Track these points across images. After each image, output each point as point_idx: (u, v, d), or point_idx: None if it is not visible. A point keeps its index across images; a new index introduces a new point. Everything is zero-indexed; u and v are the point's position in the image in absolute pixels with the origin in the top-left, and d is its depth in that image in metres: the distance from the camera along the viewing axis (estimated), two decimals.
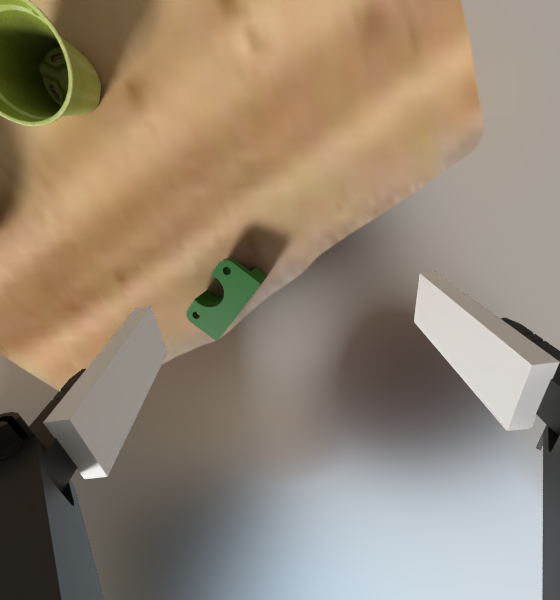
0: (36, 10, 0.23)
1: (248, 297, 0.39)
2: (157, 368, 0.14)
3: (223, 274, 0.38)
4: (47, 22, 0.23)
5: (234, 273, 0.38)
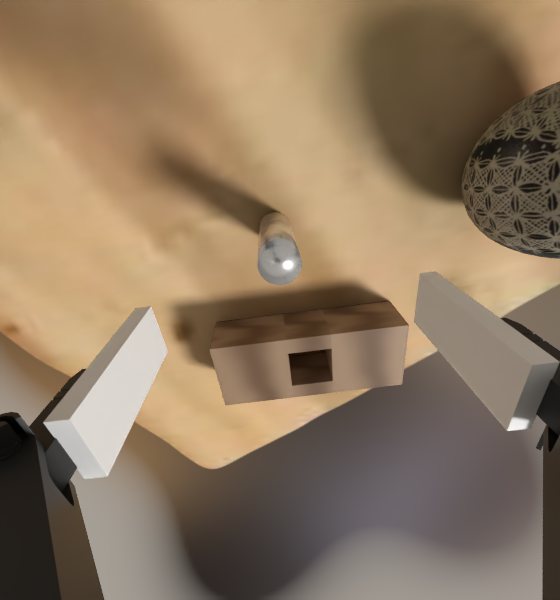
0: None
1: None
2: (157, 368, 0.14)
3: None
4: None
5: None
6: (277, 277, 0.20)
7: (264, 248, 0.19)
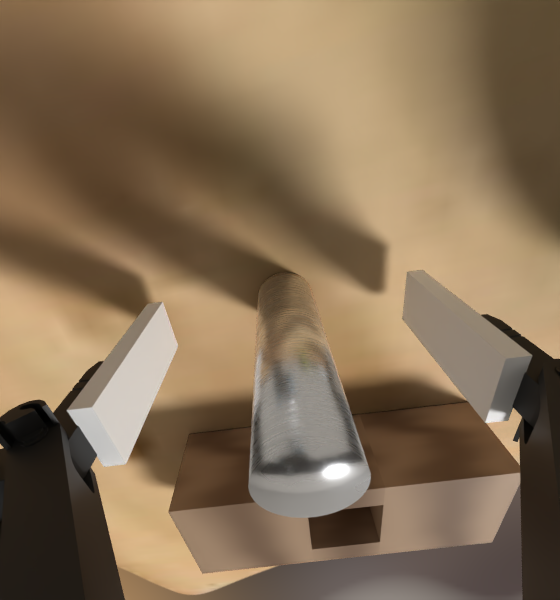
0: None
1: None
2: (169, 362, 0.14)
3: None
4: None
5: None
6: (302, 506, 0.08)
7: (267, 450, 0.07)
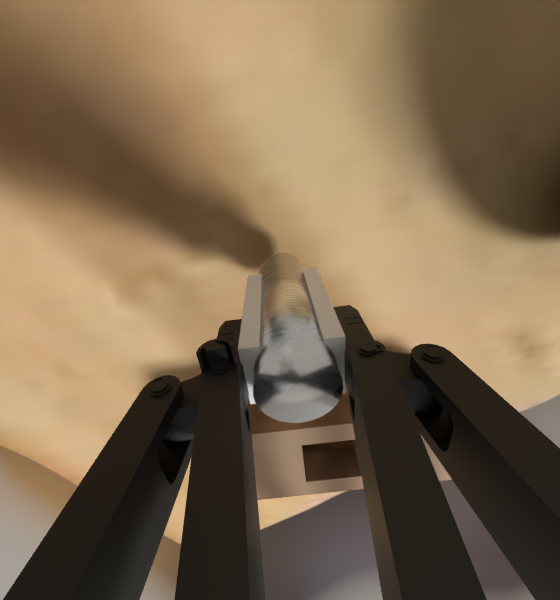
0: None
1: None
2: None
3: None
4: None
5: None
6: (293, 411, 0.10)
7: (266, 362, 0.09)
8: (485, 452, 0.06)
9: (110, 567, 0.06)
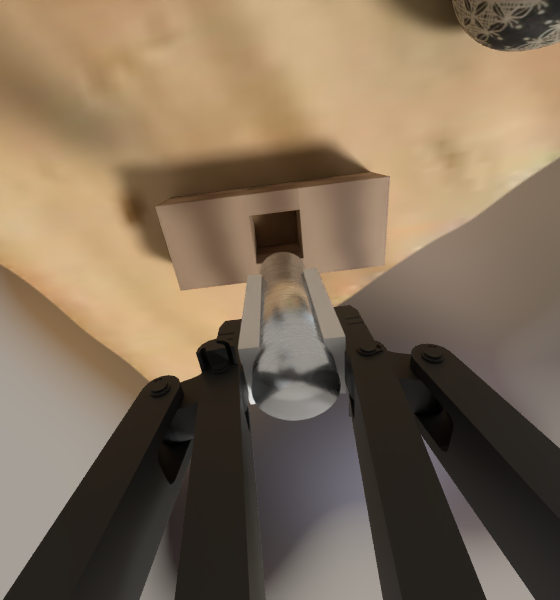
0: None
1: None
2: None
3: None
4: None
5: None
6: (291, 409, 0.10)
7: (265, 360, 0.09)
8: (485, 452, 0.06)
9: (110, 567, 0.06)
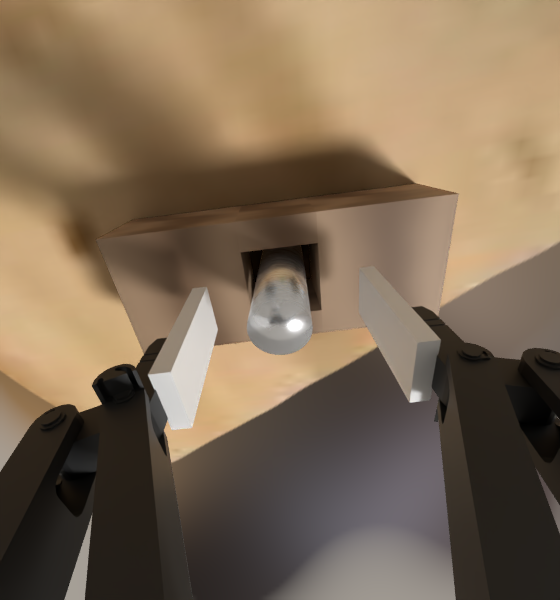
0: None
1: None
2: (213, 343, 0.15)
3: None
4: None
5: None
6: (276, 345, 0.14)
7: (257, 305, 0.13)
8: None
9: None
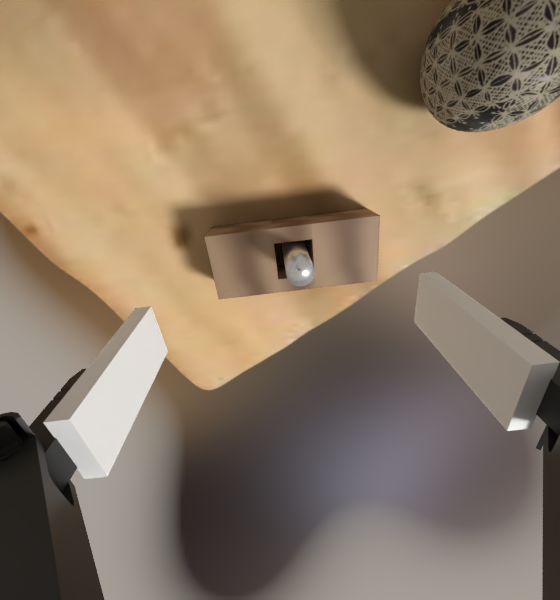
0: None
1: None
2: (157, 368, 0.14)
3: None
4: None
5: None
6: (298, 281, 0.30)
7: (291, 262, 0.30)
8: None
9: None
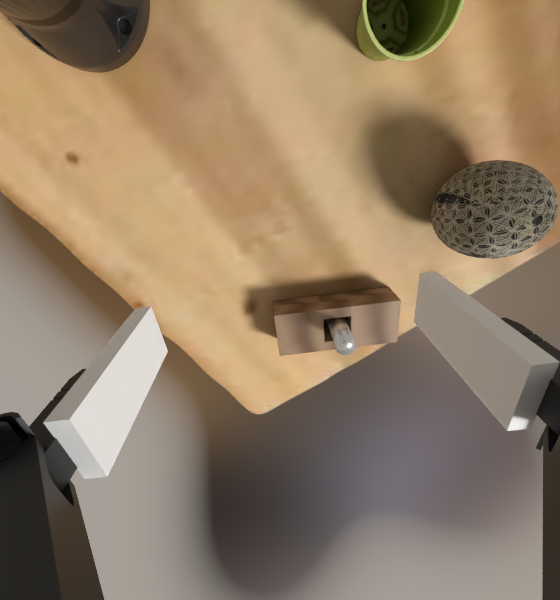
0: None
1: None
2: (157, 368, 0.14)
3: None
4: None
5: None
6: (344, 352, 0.43)
7: (340, 340, 0.42)
8: None
9: None
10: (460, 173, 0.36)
